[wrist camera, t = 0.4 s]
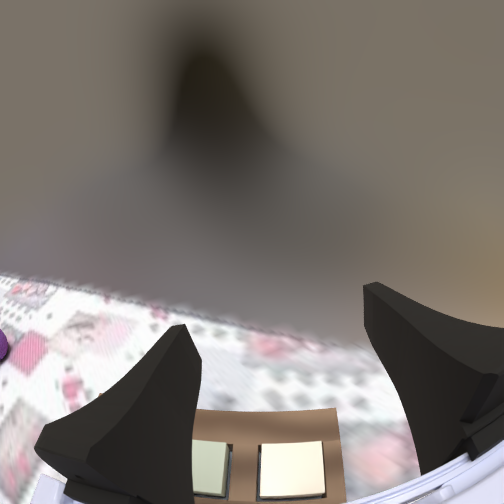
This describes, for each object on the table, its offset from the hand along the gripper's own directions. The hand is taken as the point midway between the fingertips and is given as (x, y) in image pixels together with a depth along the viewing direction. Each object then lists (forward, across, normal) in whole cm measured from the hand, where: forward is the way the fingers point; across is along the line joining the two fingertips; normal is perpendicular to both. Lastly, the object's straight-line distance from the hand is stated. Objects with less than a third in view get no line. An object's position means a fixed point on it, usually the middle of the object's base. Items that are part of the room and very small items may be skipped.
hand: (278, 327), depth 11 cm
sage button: (+1, +10, +17) cm, 19 cm away
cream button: (+1, +2, +18) cm, 18 cm away
